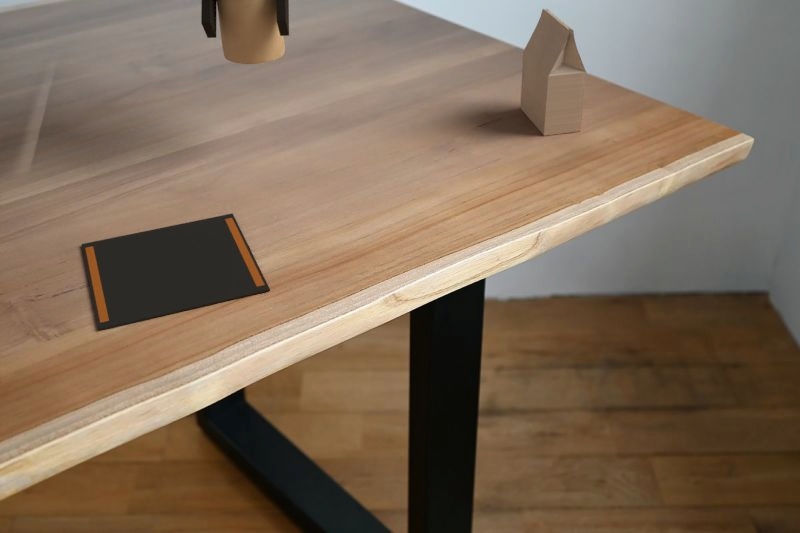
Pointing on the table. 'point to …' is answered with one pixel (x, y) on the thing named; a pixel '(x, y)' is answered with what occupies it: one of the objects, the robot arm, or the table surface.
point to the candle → (250, 31)
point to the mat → (170, 270)
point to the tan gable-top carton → (553, 78)
